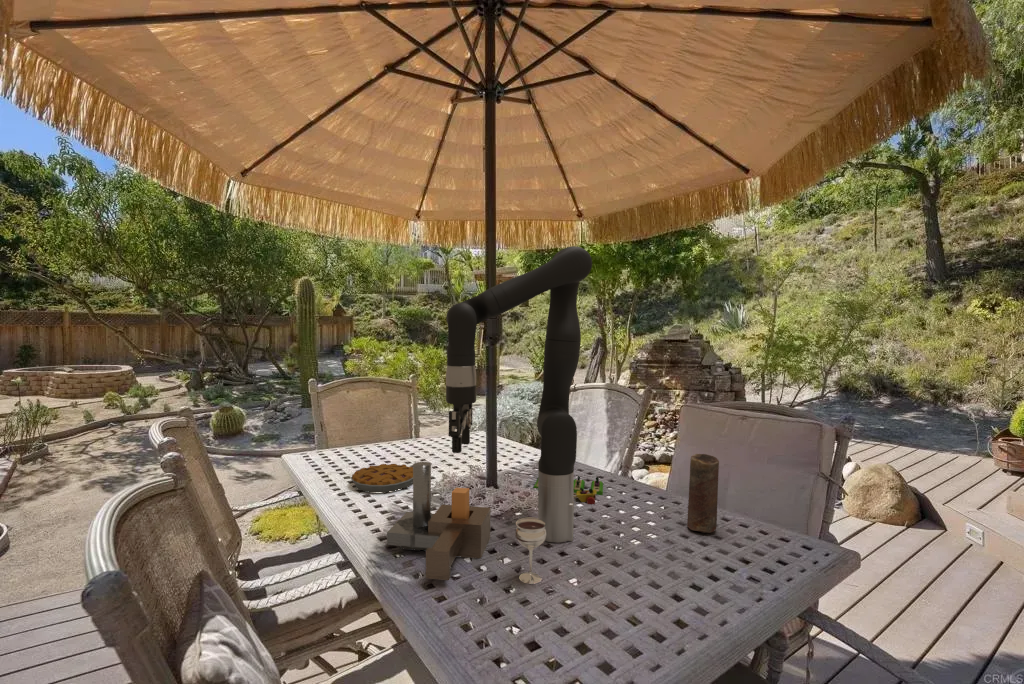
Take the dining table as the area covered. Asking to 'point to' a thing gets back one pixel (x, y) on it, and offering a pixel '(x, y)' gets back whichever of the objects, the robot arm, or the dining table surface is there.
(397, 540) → the metal peg stand
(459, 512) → the orange rectangular block
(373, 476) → the pie
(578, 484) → the toy garden set
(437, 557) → the bracket
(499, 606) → the dining table surface
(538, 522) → the wineglass
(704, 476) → the candle
